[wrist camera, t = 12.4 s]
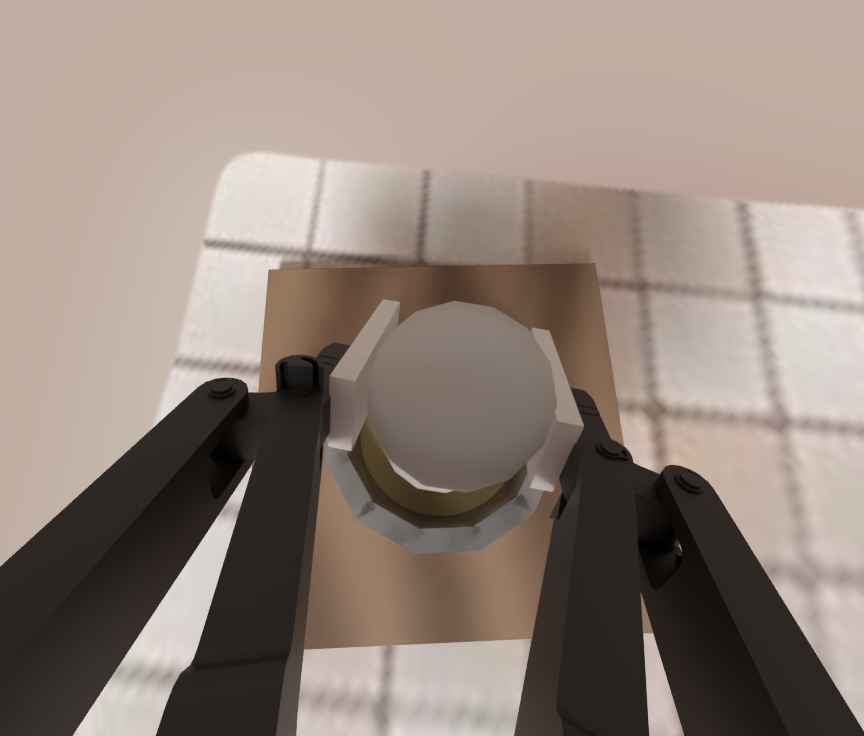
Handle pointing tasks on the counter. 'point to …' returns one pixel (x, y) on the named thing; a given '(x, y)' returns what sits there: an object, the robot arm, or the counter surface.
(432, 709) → the counter surface
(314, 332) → the collar board
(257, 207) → the counter surface
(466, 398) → the salt shaker
